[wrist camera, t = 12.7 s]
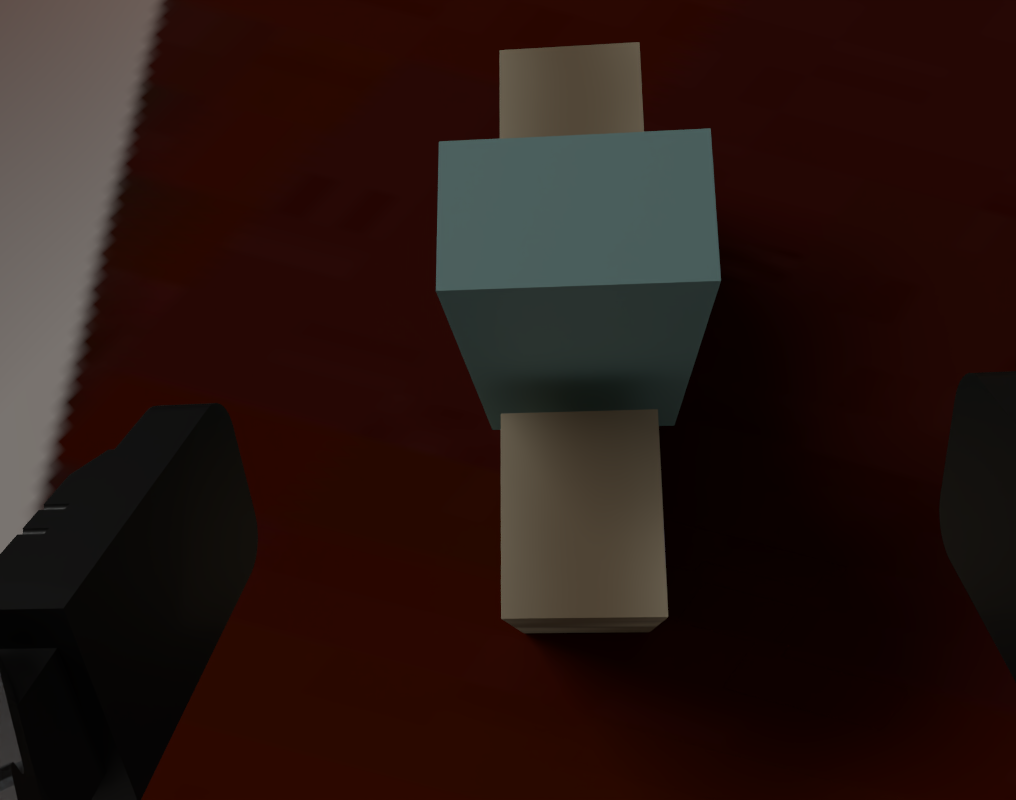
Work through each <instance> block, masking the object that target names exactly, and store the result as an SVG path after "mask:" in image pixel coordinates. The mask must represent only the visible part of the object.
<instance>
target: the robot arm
mask: <svg viewBox="0 0 1016 800" xmlns="http://www.w3.org/2000/svg"><path fill="white" fill-rule="evenodd" d="M939 511H940V527H941V534H942V538H943V543H944V546H945V549H946V552H947V555H948V557H949V559H950V561H951V563H952V565H953V567H954V568H955V570H956V572H957V574H958V576H959V578H960V579H961V581H962V583H963V585H964V587H965V589H966V591H967V592H968V594H969V596H970V598H971V600H972V602H973V604H974V605H975V607H976V609H977V611H978V613H979V615H980V617H981V618H982V620H983V622H984V624H985V626H986V628H987V630H988V631H989V633H990V635H991V637H992V639H993V641H994V643H995V644H996V646H997V648H998V650H999V652H1000V654H1001V656H1002V657H1003V659H1004V661H1005V663H1006V665H1007V667H1008V669H1009V670H1010V672H1011V674H1012V676H1013V678H1014V680H1015V681H1016V371H1011V372H987V373H969V374H966V375H965V376H964V377H963V378H962V380H961V381H960V383H959V386H958V389H957V392H956V397H955V403H954V409H953V416H952V422H951V429H950V436H949V442H948V449H947V456H946V462H945V469H944V475H943V482H942V489H941V495H940V509H939ZM257 542H258V533H257V522H256V516H255V512H254V508H253V504H252V500H251V496H250V492H249V488H248V484H247V480H246V476H245V472H244V468H243V464H242V460H241V456H240V452H239V448H238V444H237V440H236V436H235V432H234V428H233V425H232V421H231V419H230V416H229V414H228V412H227V411H226V409H225V408H224V407H223V406H222V405H221V404H218V403H211V404H188V405H164V406H153V407H151V408H150V409H148V410H147V411H146V413H145V414H144V415H143V416H142V417H141V419H140V420H139V421H138V422H137V423H136V425H135V426H134V427H133V428H132V429H131V431H130V432H129V433H128V434H127V435H126V437H125V438H124V439H123V440H122V441H121V443H120V444H119V445H118V446H117V447H116V449H115V450H107V451H106V452H104V453H103V454H101V455H100V456H98V457H97V458H95V459H94V460H92V461H91V462H89V463H87V464H86V465H84V466H83V467H81V468H80V469H78V470H77V471H75V472H74V473H72V474H71V475H69V476H68V477H67V478H66V480H65V481H64V482H63V483H62V484H61V485H60V486H59V488H58V489H57V490H56V491H55V492H54V493H53V494H52V496H51V497H50V498H49V499H48V500H47V501H46V502H45V504H44V510H38V512H37V513H36V514H35V515H34V516H33V517H32V518H31V520H30V521H29V522H28V523H27V524H26V525H25V526H24V528H23V535H17V536H16V537H15V538H14V539H13V540H12V541H11V542H10V544H9V545H8V546H7V547H6V548H5V549H4V551H3V552H2V553H1V554H0V800H141V798H142V796H143V794H144V792H145V790H146V788H147V786H148V784H149V782H150V780H151V778H152V776H153V773H154V771H155V769H156V767H157V765H158V763H159V761H160V759H161V757H162V755H163V753H164V751H165V749H166V747H167V745H168V743H169V741H170V739H171V737H172V734H173V732H174V730H175V728H176V726H177V724H178V722H179V720H180V718H181V716H182V714H183V712H184V710H185V708H186V706H187V704H188V702H189V700H190V697H191V695H192V693H193V691H194V689H195V687H196V685H197V683H198V681H199V679H200V677H201V675H202V673H203V671H204V669H205V667H206V665H207V663H208V660H209V658H210V656H211V654H212V652H213V650H214V648H215V646H216V644H217V642H218V640H219V638H220V636H221V634H222V632H223V630H224V628H225V626H226V623H227V621H228V619H229V617H230V615H231V613H232V611H233V609H234V607H235V605H236V603H237V601H238V599H239V597H240V595H241V593H242V591H243V589H244V587H245V584H246V582H247V580H248V578H249V576H250V574H251V572H252V569H253V567H254V563H255V559H256V553H257Z"/></svg>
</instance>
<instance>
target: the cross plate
mask: <svg viewBox="0 0 1016 800" xmlns="http://www.w3.org/2000/svg"><path fill="white" fill-rule="evenodd" d="M720 282H721V274H720V259H719V245H718V230H717V216H716V202H715V187H714V173H713V158H712V144H711V129H691V130H670V131H650V132H629V133H608V134H587V135H567V136H546V137H525V138H504V139H484V140H463V141H442V142H439V167H438V217H437V266H436V292H437V295H438V297H439V300H440V302H441V304H442V307H443V309H444V312H445V314H446V317H447V319H448V322H449V324H450V327H451V329H452V331H453V334H454V336H455V339H456V341H457V344H458V346H459V349H460V351H461V354H462V356H463V358H464V361H465V363H466V366H467V368H468V371H469V373H470V376H471V378H472V381H473V383H474V385H475V388H476V390H477V393H478V395H479V398H480V400H481V403H482V405H483V408H484V410H485V412H486V415H487V417H488V420H489V422H490V425H491V427H492V430H501V414H503V413H540V412H576V411H613V410H649V409H658V422H659V426H674V425H675V422H676V419H677V416H678V413H679V410H680V407H681V403H682V400H683V397H684V394H685V391H686V388H687V385H688V382H689V379H690V376H691V372H692V369H693V366H694V363H695V360H696V357H697V354H698V351H699V348H700V344H701V341H702V338H703V335H704V332H705V329H706V326H707V323H708V320H709V316H710V313H711V310H712V307H713V304H714V301H715V298H716V295H717V292H718V289H719V285H720Z"/></svg>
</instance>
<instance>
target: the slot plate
mask: <svg viewBox="0 0 1016 800" xmlns="http://www.w3.org/2000/svg"><path fill="white" fill-rule="evenodd" d="M629 132H644V124H643V104H642V84H641V64H640V44H639V42H635V43H618V44H601V45H584V46H566V47H549V48H532V49H515V50H500V139H504V138H525V137H546V136H567V135H587V134H608V133H629ZM666 618H668V601H667V581H666V561H665V541H664V521H663V501H662V481H661V461H660V442H659V422H658V409H649V410H613V411H576V412H540V413H503V414H501V619H503V620H504V621H506V622H507V623H509V624H510V625H512V626H514V627H515V628H517V629H518V630H520V631H521V632H523V633H608V632H650V631H652V630H653V629H654V628H655V627H657V626H658V625H659V624H660V623H661V622H663V621H664V620H665V619H666Z"/></svg>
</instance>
